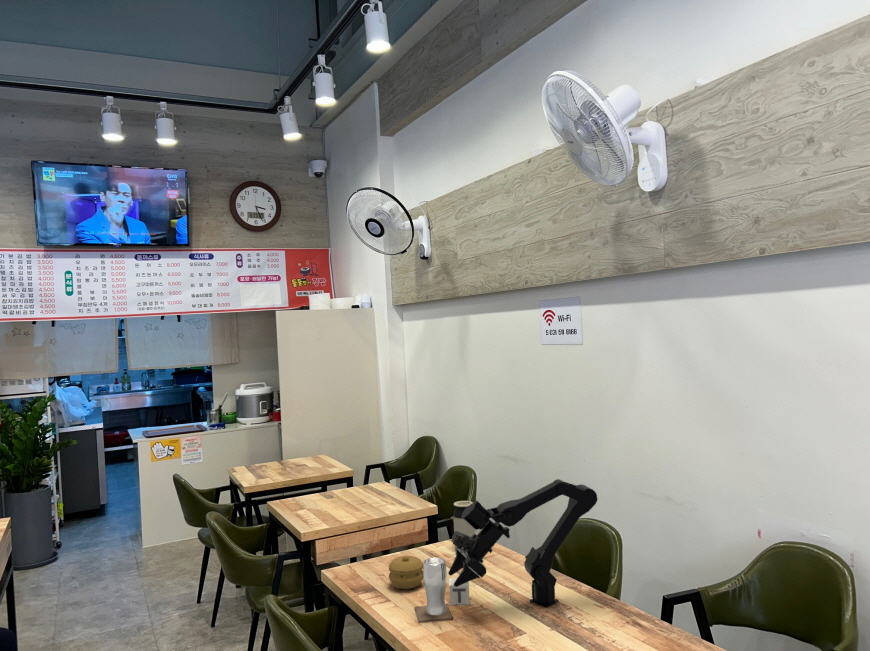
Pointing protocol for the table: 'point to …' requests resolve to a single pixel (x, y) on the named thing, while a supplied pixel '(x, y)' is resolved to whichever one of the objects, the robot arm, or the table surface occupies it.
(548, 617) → the table surface
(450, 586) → the letter block
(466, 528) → the travel mug
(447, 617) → the coaster
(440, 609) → the beer glass
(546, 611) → the table surface
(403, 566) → the pot
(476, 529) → the robot arm
